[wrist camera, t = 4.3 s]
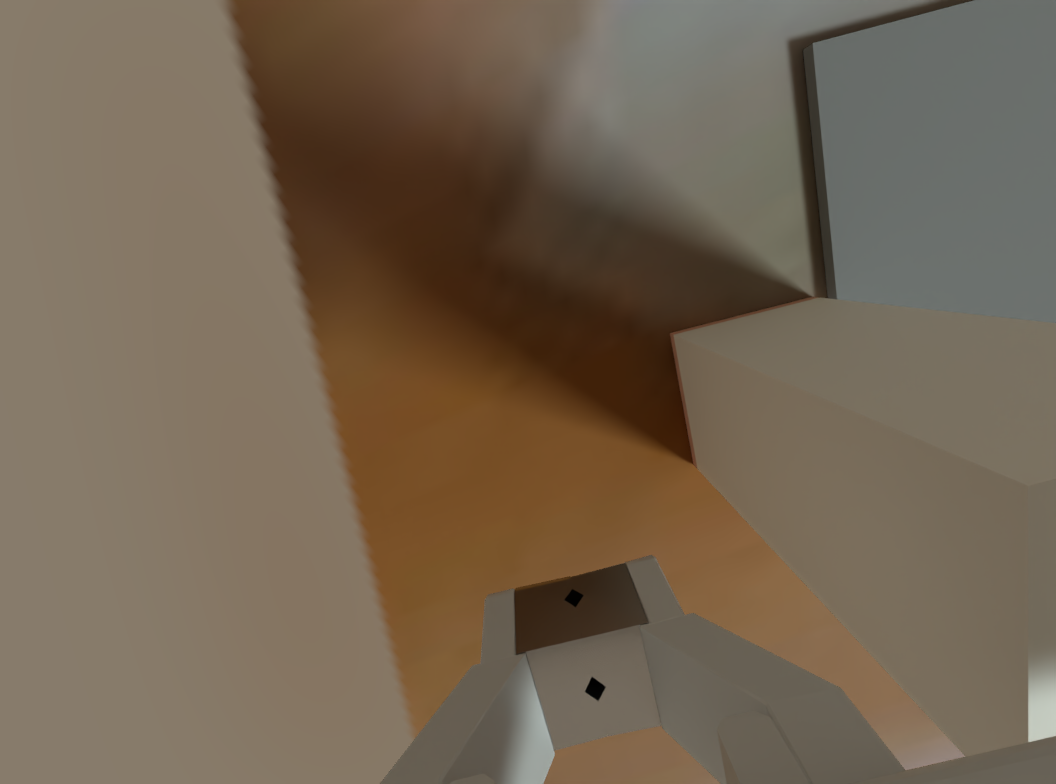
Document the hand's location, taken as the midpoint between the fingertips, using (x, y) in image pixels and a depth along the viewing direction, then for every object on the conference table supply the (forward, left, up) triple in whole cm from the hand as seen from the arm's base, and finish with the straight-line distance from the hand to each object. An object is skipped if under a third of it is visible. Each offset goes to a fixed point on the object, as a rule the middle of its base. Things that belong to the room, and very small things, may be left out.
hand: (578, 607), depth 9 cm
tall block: (0, +8, -10) cm, 12 cm away
